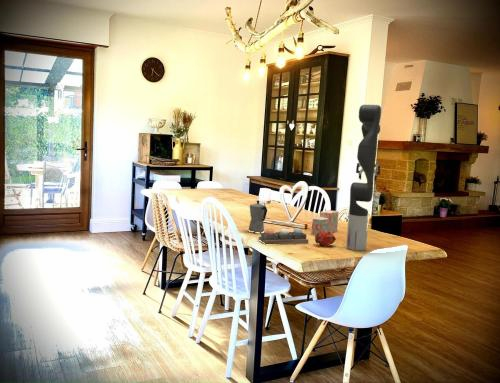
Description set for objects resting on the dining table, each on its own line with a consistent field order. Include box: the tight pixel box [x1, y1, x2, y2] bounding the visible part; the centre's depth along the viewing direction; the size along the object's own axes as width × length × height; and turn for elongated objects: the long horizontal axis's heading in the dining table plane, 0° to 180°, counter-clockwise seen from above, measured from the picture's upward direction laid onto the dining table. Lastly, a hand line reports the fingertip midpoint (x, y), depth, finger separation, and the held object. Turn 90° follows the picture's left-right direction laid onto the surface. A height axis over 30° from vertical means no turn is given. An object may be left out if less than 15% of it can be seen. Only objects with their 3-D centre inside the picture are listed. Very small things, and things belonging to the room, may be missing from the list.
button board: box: [258, 231, 309, 245], centre depth 239 cm, size 10×24×4 cm, turn 111°
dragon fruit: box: [314, 231, 337, 247], centre depth 236 cm, size 8×8×12 cm
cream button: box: [279, 228, 289, 235], centre depth 239 cm, size 4×4×3 cm
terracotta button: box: [264, 228, 275, 235], centre depth 236 cm, size 4×4×3 cm
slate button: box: [292, 227, 303, 234], centre depth 242 cm, size 4×4×3 cm
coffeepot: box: [248, 199, 268, 232], centre depth 260 cm, size 15×9×18 cm, turn 33°
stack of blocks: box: [310, 210, 339, 236], centre depth 271 cm, size 21×6×12 cm, turn 145°
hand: (367, 179), depth 284 cm, fingers open, 8 cm apart
